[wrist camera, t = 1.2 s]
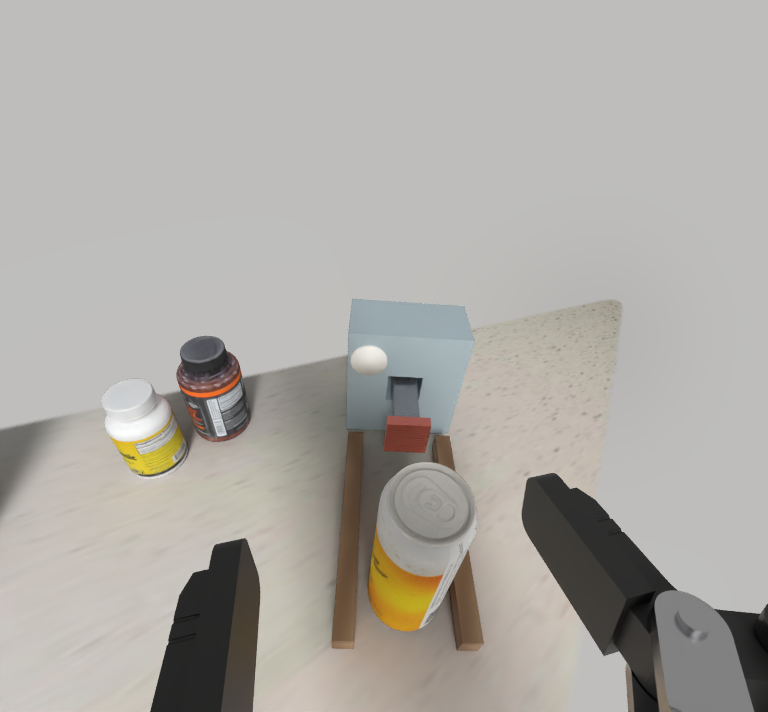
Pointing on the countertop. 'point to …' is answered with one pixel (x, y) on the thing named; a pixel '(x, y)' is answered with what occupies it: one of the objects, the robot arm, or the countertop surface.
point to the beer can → (419, 543)
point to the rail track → (345, 598)
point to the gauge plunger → (406, 419)
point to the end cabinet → (405, 359)
